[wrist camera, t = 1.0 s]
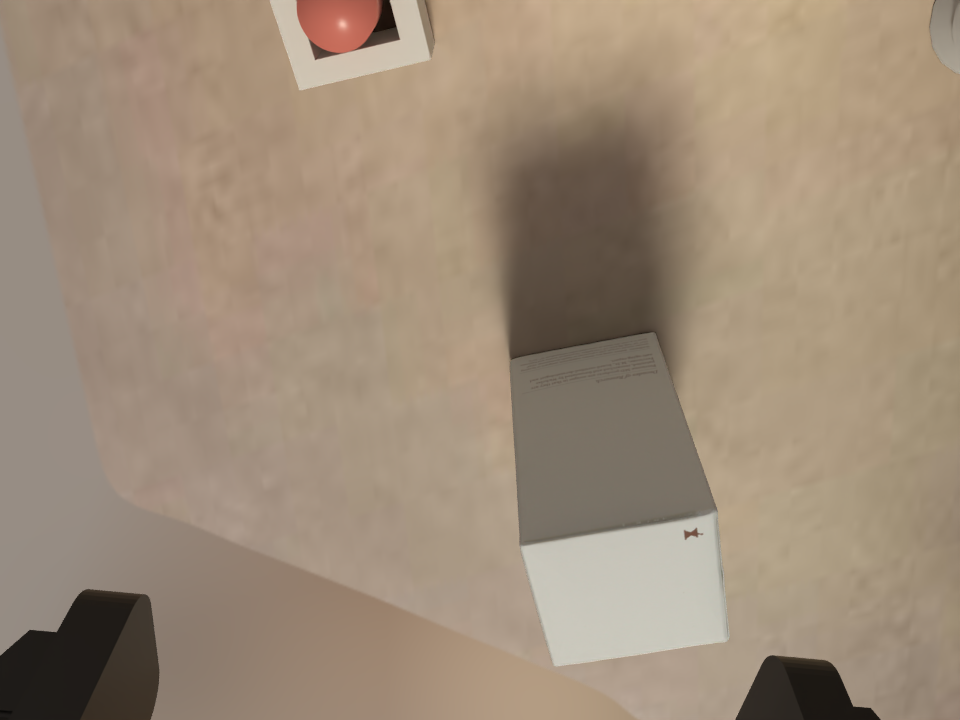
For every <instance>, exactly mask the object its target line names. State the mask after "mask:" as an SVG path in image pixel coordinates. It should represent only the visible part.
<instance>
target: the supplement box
mask: <svg viewBox="0 0 960 720" xmlns="http://www.w3.org/2000/svg"><path fill="white" fill-rule="evenodd" d="M510 381H511V400H512V416H513V433H514V448H515V464H516V481H517V499H518V517H519V533H520V550H521V555H522V559H523V563H524V566H525V570H526V574H527V577H528V581H529V585H530V588H531V592H532V596H533V599H534V603H535V606H536V609H537V613H538V616H539V620H540V623H541V627H542V630H543V634H544V637H545V641H546V644H547V647H548V650H549V654H550V657H551V660H552V663H553V665H554V666H563V665H570V664H578V663H585V662H592V661H599V660H605V659H612V658H619V657H626V656H633V655H640V654H646V653H652V652H658V651H664V650H671V649H677V648H684V647H690V646H697V645H705V644H712V643H721V642H727V641H728V639H729V625H728V616H727V606H726V596H725V585H724V570H723V565H722V557H721V546H720V535H719V525H718V511H717V507H716V505H715V502H714V499H713V496H712V493H711V490H710V487H709V484H708V482H707V479H706V476H705V473H704V470H703V467H702V464H701V462H700V459H699V456H698V453H697V450H696V447H695V445H694V442H693V439H692V436H691V433H690V430H689V428H688V425H687V422H686V419H685V416H684V413H683V410H682V408H681V405H680V402H679V399H678V396H677V393H676V390H675V388H674V385H673V382H672V379H671V377H670V374H669V371H668V368H667V365H666V362H665V359H664V356H663V353H662V351H661V348H660V345H659V342H658V339H657V335H656V333H654V332H651V333H645V334H639V335H634V336H628V337H623V338H617V339H612V340H607V341H601V342H595V343H591V344H585V345H580V346H574V347H569V348H563V349H559V350H553V351H548V352H543V353H538V354H532V355H527V356H523V357H519V358H515V359H512V360H511V361H510Z"/></svg>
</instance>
